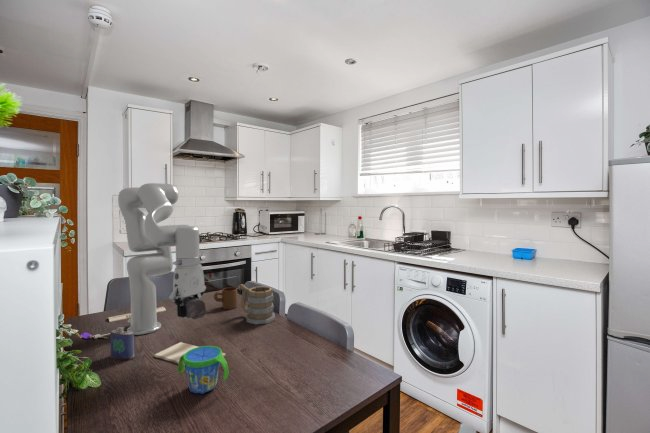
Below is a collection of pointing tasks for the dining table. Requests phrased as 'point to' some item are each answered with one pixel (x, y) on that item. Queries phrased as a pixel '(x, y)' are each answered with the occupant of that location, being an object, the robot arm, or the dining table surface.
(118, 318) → the newspaper
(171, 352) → the birch board
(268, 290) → the tankard
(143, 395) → the dining table surface
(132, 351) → the flask
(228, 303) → the mug
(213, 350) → the snack cup
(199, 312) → the perforated stone tool
